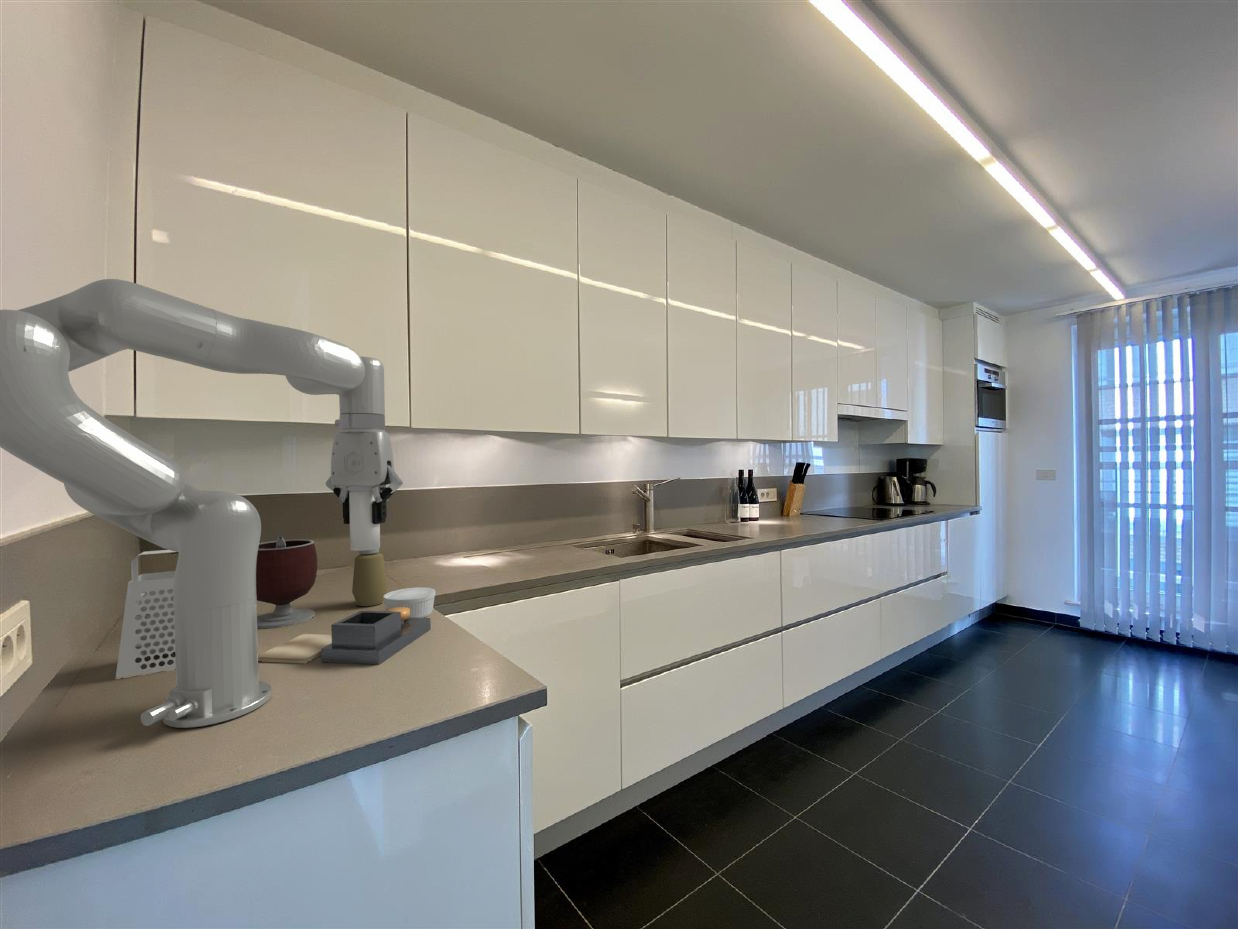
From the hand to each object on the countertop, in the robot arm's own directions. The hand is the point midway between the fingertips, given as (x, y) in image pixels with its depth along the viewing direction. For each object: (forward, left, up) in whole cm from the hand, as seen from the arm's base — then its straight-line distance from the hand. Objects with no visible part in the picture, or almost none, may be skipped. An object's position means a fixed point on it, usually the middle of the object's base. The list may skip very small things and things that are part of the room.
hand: (364, 522), depth 96 cm
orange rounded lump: (+10, 0, -24) cm, 26 cm away
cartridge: (0, 0, -5) cm, 5 cm away
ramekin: (+22, +4, -25) cm, 33 cm away
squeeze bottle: (+30, +19, -25) cm, 43 cm away
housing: (+4, 0, -24) cm, 25 cm away
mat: (0, +13, -24) cm, 28 cm away
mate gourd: (+16, +31, -25) cm, 43 cm away
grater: (-8, +34, -25) cm, 43 cm away
